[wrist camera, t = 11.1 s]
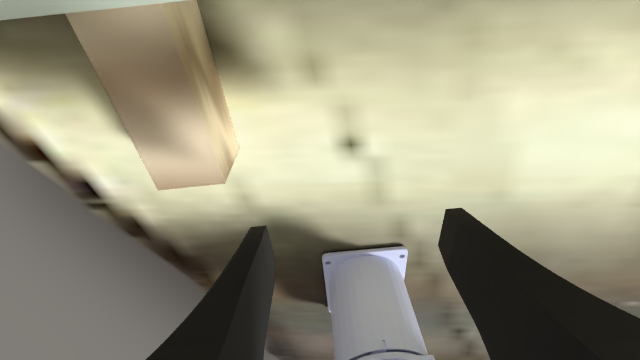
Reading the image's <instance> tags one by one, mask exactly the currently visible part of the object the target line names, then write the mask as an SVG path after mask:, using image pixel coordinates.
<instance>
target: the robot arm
mask: <svg viewBox="0 0 640 360" xmlns="http://www.w3.org/2000/svg"><path fill="white" fill-rule="evenodd" d="M438 246H439V249H440V252H441V255H442V257H443V260H444V263H445V265H446V268H447V270H448V272H449V274H450V276H451V278H452V280H453V282H454V284H455V286H456V288H457V290H458V291H459V293H460V295H461V297H462V299H463V301H464V303H465V305H466V307H467V309H468V310H469V312H470V314H471V316H472V318H473V320H474V322H475V324H476V326H477V328H478V330H479V332H480V335H481V337H482V340H483V342H484V344H485V347H486V349H487V352H488V354H489V357H490V359H491V360H640V318H638V317H636V316H633V315H631V314H629V313H627V312H625V311H623V310H621V309H619V308H617V307H615V306H613V305H611V304H609V303H607V302H605V301H603V300H601V299H600V298H598V297H596V296H594V295H592V294H590V293H588V292H586V291H584V290H583V289H581V288H579V287H577V286H575V285H574V284H572V283H570V282H569V281H567V280H565V279H563V278H562V277H560V276H558V275H556V274H555V273H553V272H552V271H550V270H548V269H547V268H545V267H543V266H542V265H540V264H539V263H537V262H536V261H534V260H533V259H531V258H530V257H528V256H527V255H525V254H524V253H522V252H521V251H519V250H518V249H516V248H515V247H514V246H512V245H511V244H509V243H508V242H507V241H505V240H504V239H502V238H501V237H500V236H498V235H497V234H496V233H494V232H493V231H492V230H490V229H489V228H488V227H486V226H485V225H484V224H482V223H481V222H480V221H478V220H477V219H476V218H474V217H473V216H472V215H470V214H469V213H468V212H466V211H465V210H464V209H462V208H454V209H446V211H445V216H444V220H443V225H442V229H441V234H440V239H439V243H438ZM407 254H408V251H407V248H406V247H404V246H400V247H389V248H377V249H366V250H355V251H344V252H333V253H325V254H323V255H322V262H323V270H324V278H325V286H326V294H327V302H328V310H329V312H331V315H332V328H333V341H334V354H335V360H435V358H434V356H433V355H428V353H427V350H426V347H425V344H424V341H423V338H422V335H421V332H420V329H419V326H418V323H417V320H416V317H415V314H414V311H413V308H412V305H411V302H410V299H409V296H408V293H407V290H406V287H405V284H404V277H405V269H406V262H407ZM327 261H328V262H327ZM274 279H275V256H274V253H273V249H272V245H271V241H270V238H269V234H268V230H267V226H258V227H251V228H250V229H249V231H248V232H247V234H246V236H245V238H244V239H243V241H242V243H241V244H240V246H239V247H238V249H237V251H236V252H235V254H234V255H233V257H232V258H231V260H230V261H229V263H228V264H227V266H226V267H225V269H224V270H223V272H222V273H221V275H220V276H219V277H218V279H217V280H216V282H215V283H214V284H213V286H212V287H211V288H210V290H209V291H208V292H207V294H206V295H205V296H204V297H203V299H202V300H201V301H200V302H199V304H198V305H197V306H196V307H195V308H194V310H193V311H192V312H191V313H190V314H189V315H188V317H187V318H186V319H185V320H184V321H183V322H182V323H181V324H180V326H179V327H178V328H177V329H176V330H175V331H174V332H173V333H172V334H171V335H170V336H169V337H168V338H167V339H166V340H165V342H163V344H161V345H160V346H159V347H158V349H156V350H155V351H154V352H153V353H152V354H151V355H150V356H149V357H148V358H147V359H146V360H263V356H264V346H265V338H266V332H267V326H268V320H269V314H270V308H271V301H272V295H273V289H274Z"/></svg>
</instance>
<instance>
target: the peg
mask: <svg viewBox="0 0 640 360" xmlns="http://www.w3.org/2000/svg"><path fill="white" fill-rule="evenodd" d="M65 15H66V17H67V18H68V20H69V22H70V24H71V26H72V28H73V30H74V32H75V34H76V36H77V37H78V39H79V41H80V43H81V45H82V47H83V49H84V51H85V53H86V55H87V56H88V58H89V60H90V62H91V64H92V66H93V68H94V70H95V72H96V74H97V75H98V77H99V79H100V81H101V83H102V85H103V87H104V89H105V91H106V93H107V94H108V96H109V98H110V100H111V102H112V104H113V106H114V108H115V110H116V112H117V113H118V115H119V117H120V119H121V121H122V123H123V125H124V127H125V129H126V131H127V132H128V134H129V136H130V138H131V140H132V142H133V144H134V146H135V148H136V150H137V151H138V153H139V155H140V157H141V159H142V161H143V163H144V165H145V167H146V169H147V170H148V172H149V174H150V176H151V178H152V180H153V182H154V184H155V186H156V188H157V189H158V190H166V189H176V188H185V187H195V186H205V185H215V184H225V182H226V180H227V177H228V175H229V172H230V170H231V168H232V165H233V163H234V160H235V158H236V156H237V153H238V151H239V149H240V148H239V145H238V141H237V138H236V134H235V131H234V127H233V124H232V121H231V117H230V114H229V110H228V107H227V103H226V100H225V96H224V93H223V90H222V86H221V83H220V79H219V76H218V72H217V69H216V65H215V62H214V59H213V55H212V52H211V48H210V45H209V41H208V38H207V34H206V31H205V28H204V24H203V21H202V17H201V14H200V10H199V7H198V3H197V0H187V1H178V2H169V3H159V4H150V5H140V6H131V7H121V8H112V9H102V10H93V11H83V12H74V13H65Z"/></svg>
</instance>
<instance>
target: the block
mask: <svg viewBox="0 0 640 360" xmlns="http://www.w3.org/2000/svg"><path fill="white" fill-rule="evenodd" d="M178 1H187V0H0V20H8V19H17V18H27V17H36V16H46V15H55V14H65V13H74V12H83V11H93V10H102V9H112V8H121V7H131V6H140V5H150V4H159V3H169V2H178Z"/></svg>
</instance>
